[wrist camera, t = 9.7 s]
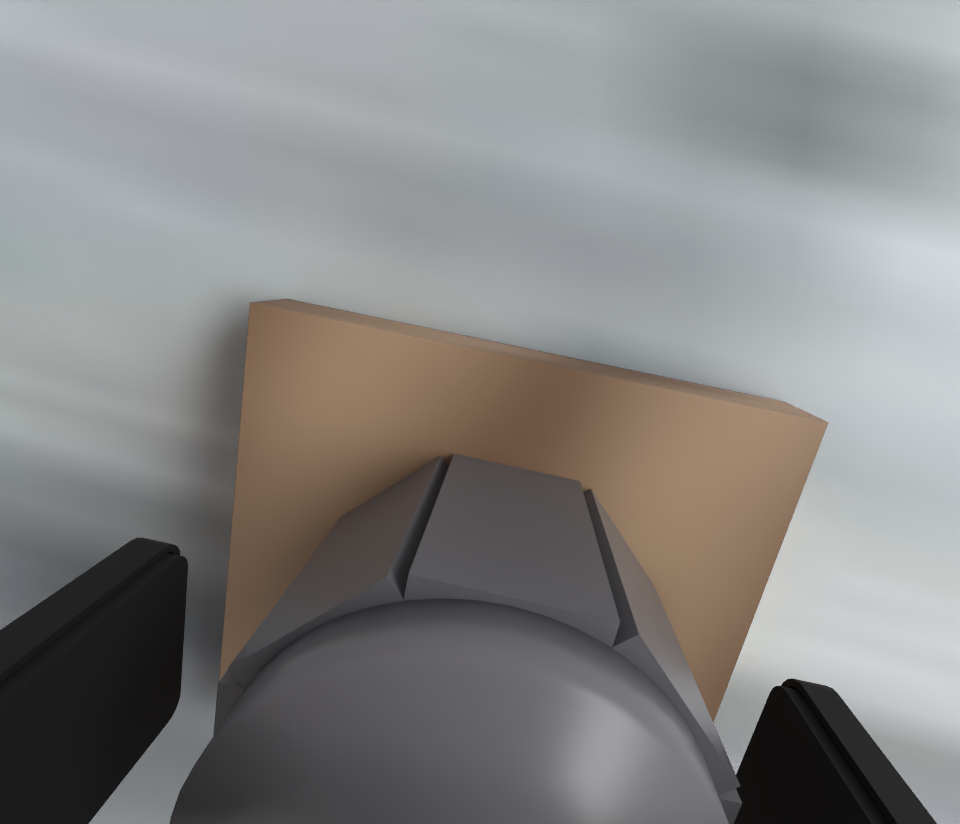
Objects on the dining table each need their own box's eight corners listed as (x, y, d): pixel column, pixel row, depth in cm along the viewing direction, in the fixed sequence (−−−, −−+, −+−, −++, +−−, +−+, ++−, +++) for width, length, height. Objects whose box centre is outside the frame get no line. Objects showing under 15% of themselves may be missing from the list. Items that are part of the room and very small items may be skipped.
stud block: (785, 402, 10) (1025, 517, 5) (645, 793, 13) (721, 1112, 8) (287, 299, 11) (83, 318, 6) (247, 703, 13) (82, 959, 8)
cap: (687, 504, 9) (861, 743, 5) (597, 773, 11) (658, 1160, 6) (348, 430, 10) (171, 587, 5) (308, 706, 11) (146, 1034, 6)
